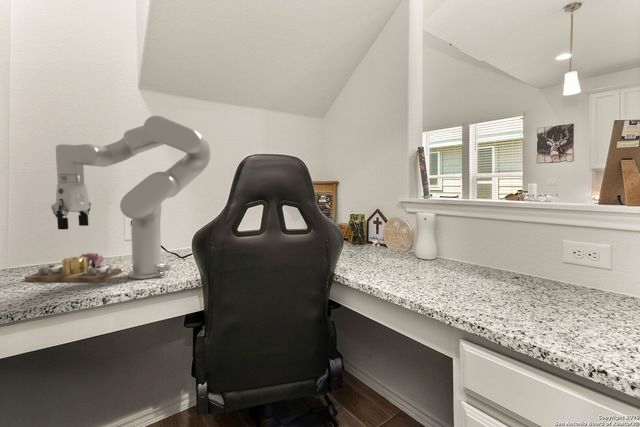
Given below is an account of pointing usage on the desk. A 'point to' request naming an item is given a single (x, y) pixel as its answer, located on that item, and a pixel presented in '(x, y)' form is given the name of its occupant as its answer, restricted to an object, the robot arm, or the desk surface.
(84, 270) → the brass gear
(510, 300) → the desk surface
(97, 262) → the video game controller
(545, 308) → the desk surface
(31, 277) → the gear board
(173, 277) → the desk surface
